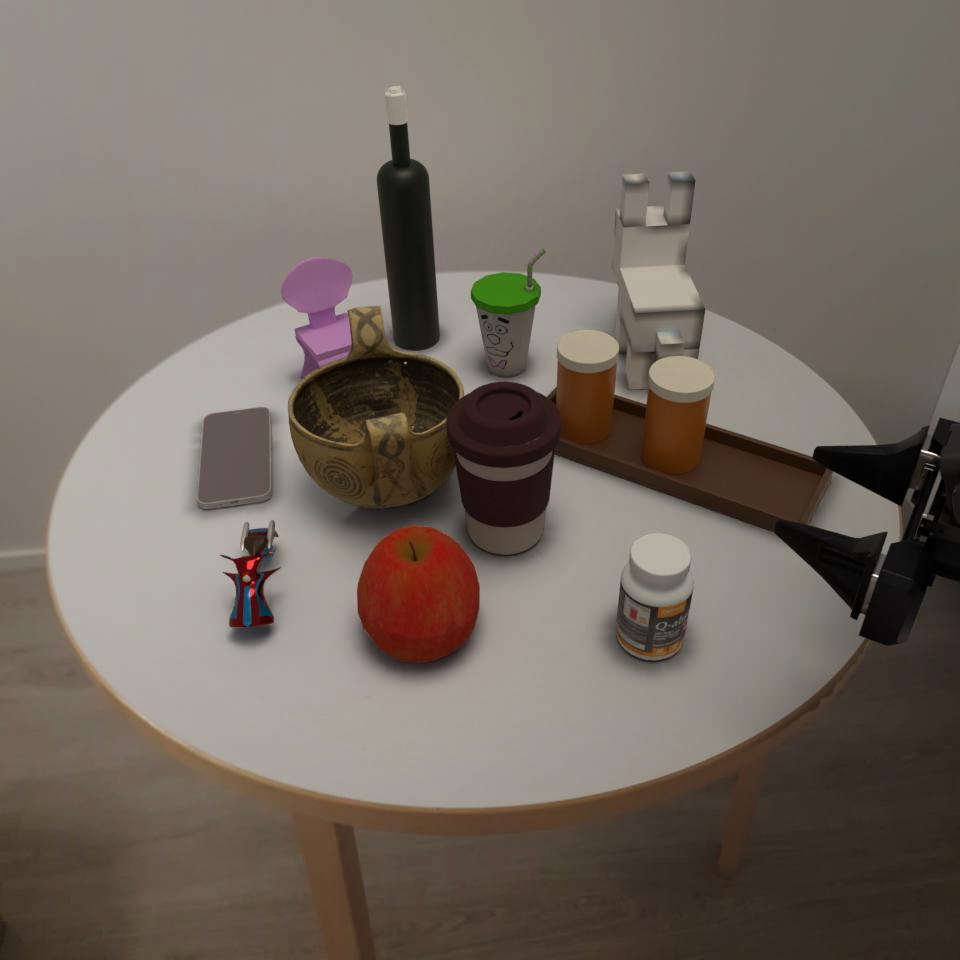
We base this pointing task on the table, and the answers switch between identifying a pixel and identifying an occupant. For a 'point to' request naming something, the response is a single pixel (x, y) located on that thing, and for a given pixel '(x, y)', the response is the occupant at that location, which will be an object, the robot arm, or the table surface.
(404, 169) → the wine bottle
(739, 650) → the table surface
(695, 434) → the amber bottle middle
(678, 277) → the toy llama
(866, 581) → the robot arm
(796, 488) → the tray
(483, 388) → the coffee cup
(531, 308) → the cup
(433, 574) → the apple
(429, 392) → the ceramic bowl
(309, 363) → the toy chair
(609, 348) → the amber bottle far
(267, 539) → the hoverbike
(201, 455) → the smartphone
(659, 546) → the pill bottle
